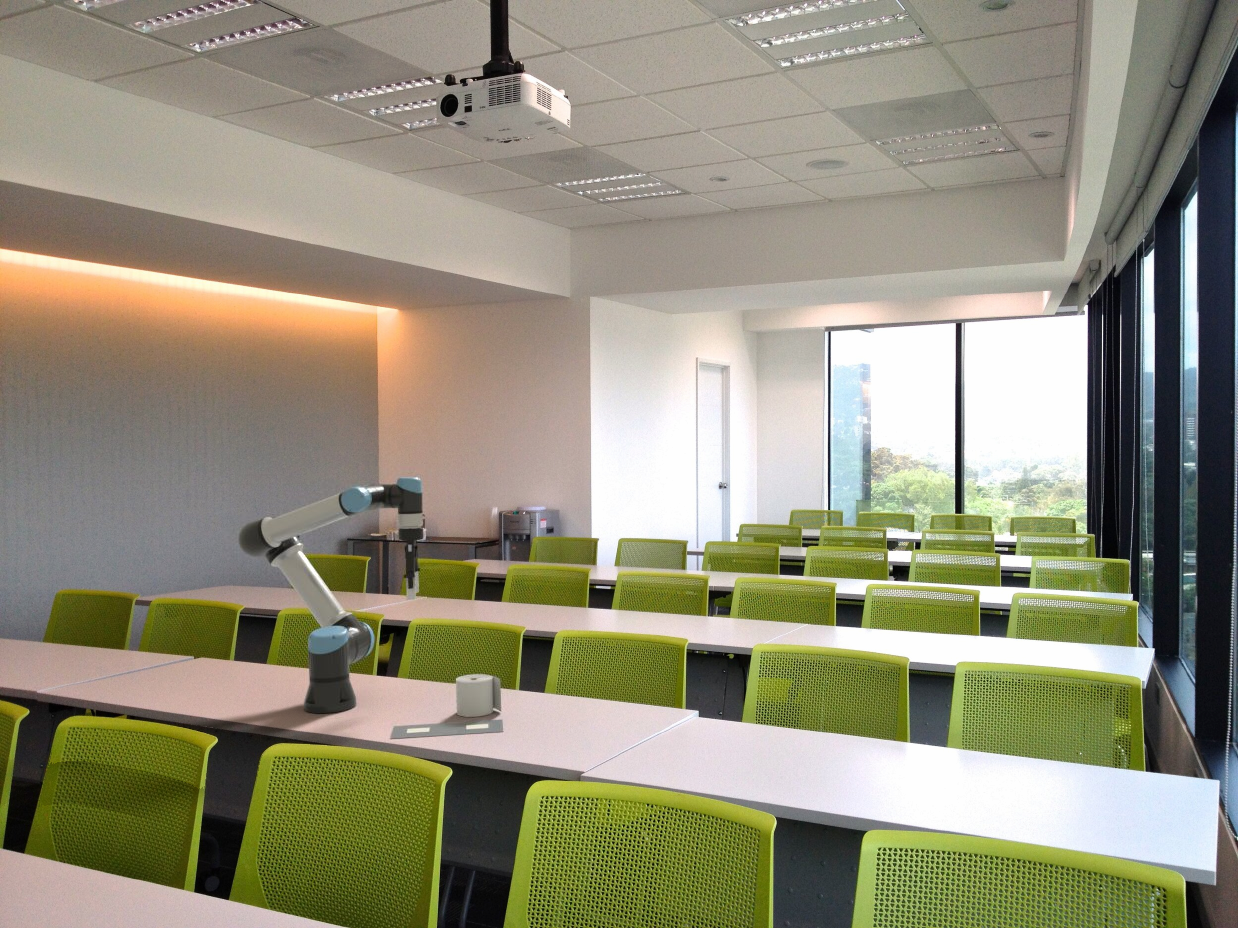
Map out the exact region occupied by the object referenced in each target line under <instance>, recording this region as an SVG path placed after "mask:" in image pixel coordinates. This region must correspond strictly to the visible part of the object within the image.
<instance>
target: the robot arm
mask: <svg viewBox="0 0 1238 928" xmlns="http://www.w3.org/2000/svg"><path fill="white" fill-rule="evenodd" d="M423 493H424V491H423V486H422V479H421V478H420V477H416V476H408V477H406V476H405V477H398V478H397V480H396V483H392V484H390V483H389V484H385V483H384V484H383V483H381V484H380V483H372V484H371V483H369V484H364V485H355V486H352V487H349V488H347V489H345V490H344V491H342V492H339V493H336V494H335V495H332V496H329V497H327V498H324V499H323V498H322V499H321V500H319V501H316V502H313V503H310V504H307V505H305V506H302V507H300V508H297V509H294V510H292V511H289V512H287V513H284V514H281V515H278V516H274V517H270V516H268V517H267V516H266V517H263V518H261V519H256V520H252V521H249V522H247V523H246V524H245V525H244V526H242V527H241V529H240V531H239V534H238V537H237V538H238V541H237V542H238V544H239V547H240V549H241V551H242V552H243V553H244V554H246V555H247V556H249V557H252V558H264V557H265V559H266V560H267V562H268V563H269V564H270V565H271V567H274V568H279V570H280V571H281V573H282V574H283V575H284V577H285V578H286V580H287V581H288V582H289V584H290V585H291V587H293V589H294V590H295V592H296V593H297V595H298V597H299V598H300V599H301V600H302V602H303V603H304V605H305V607H307V609H308V610H309V612H310V613H311V615H312V616H313V617H314V619H315V621H316V622H317V624H318V625H319V626H320V628H317V629H315V630H313V631H312V632H311V633H310V634H309V635H308V638H307V641H308V643H307V649H308V650H307V651H308V652H307V653H308V675H309V676H308V677H309V678H308V679H309V682H308V683H309V684H308V687H307V690H306V695H305V698H304V701H303V709H304V711H306V712H308V713H313V714H330V713H332V714H333V713H338V712H344V711H347V710H350V709H352V708H354V707H356V706H357V696H356V694H355V691H354V688H353V686H352V683H351V679H350V678H351V677H350V665H351V664H354V663H357V662H358V661H362V660H363V659H364V658H366V657H367V656H368V655H369V654H370V653H371V652H372V651H373V648H374V644H375V634H374V631H373V629H372V628H371V627H370V625H369V624H367V622H362V621H359V620H358V619H357V617H356V616H355V614H353V612H350V611H349V612H348V611H345V609H344V607H343V606H342V605H341V604H340V602H339V600H338V599H337V598H336V596H335V595H334V594H333V592H332V591H331V590H330V588H329V587H328V585H327V584H326V583H325V582H324V579H322V577H321V576H320V574H319V573H318V572H317V570H316V569H315V568H314V566H313V564H312V563H311V562H310V560H309V559H308V558H307V556H306V555H305V554H304V551H303V550H304V543H303V542H302V540H301V539H302V538H301V535H303V534H306V533H309V532H311V531H314V530H317V529H319V528H322V527H325V526H328V525H330V524H332V523H335V522H337V521H340V520H343V519H346V518H348V517H351V516H354V515H357V514H360V513H363V512H367V511H373V510H378V509H397V524H398V525H397V526H398V527H399V528H398V540H399V541H401V542H402V541H403V542H405V541H406V545H405V546H404V553H405V554H404V557H405V573H404V574H403V579H405V585H406V587H405V588H406V600H416V599H417V593H419V592H420V589H419V587H420V584H419V582H420V581H419V572H421V567H419V561H418V557H419V545H417V544H418V541H422V540H423V539H424V536H425V535H424V528H423V527H422V526H423V525H424V521H423V520H425V518H426V517H425V515H423Z"/></svg>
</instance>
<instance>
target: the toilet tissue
mask: <svg viewBox="0 0 1238 928" xmlns="http://www.w3.org/2000/svg"><path fill="white" fill-rule="evenodd" d="M501 682H502V681H501V678H499V677H497V676H495V675H494V676H493V675H491V674H484V673H475V674H473V673H472V674H466V675H465V674H464V675H461V676H458V677H456V679H455V690H456V691H455V692H456V694H455V695H456V699H455V700H456V703H455V704H456V714H457V715H458V716H461V717H467V718H470V717H471V718H473V717H475V718H476V717H483V716H488V715H490V714H492V713H493V712H494V709H495V710H498V711H500V712H502V694H501V693H502V691H501V690H502V689H501Z"/></svg>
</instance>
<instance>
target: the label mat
mask: <svg viewBox="0 0 1238 928" xmlns="http://www.w3.org/2000/svg"><path fill="white" fill-rule="evenodd" d="M488 733H489V734H491V733H492V734H493V733H504V721H503V719H489V720H472V721H471V720H470V721H457V722H456V721H455V722H442V723H441V722H440V723H424V724H423V723H422V724H421V723H420V724H407V725H405V724H404V725H395V726H393V728H392V731H391V735H390V738H389V739H390V740H395V739H411V738H412V739H413V738H425V737H426V738H427V737H442V736H456V735H457V736H459V735H474V734H488Z"/></svg>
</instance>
